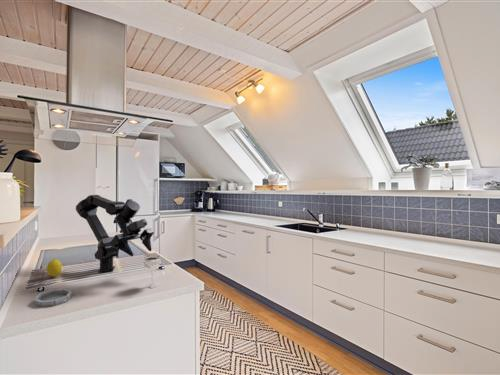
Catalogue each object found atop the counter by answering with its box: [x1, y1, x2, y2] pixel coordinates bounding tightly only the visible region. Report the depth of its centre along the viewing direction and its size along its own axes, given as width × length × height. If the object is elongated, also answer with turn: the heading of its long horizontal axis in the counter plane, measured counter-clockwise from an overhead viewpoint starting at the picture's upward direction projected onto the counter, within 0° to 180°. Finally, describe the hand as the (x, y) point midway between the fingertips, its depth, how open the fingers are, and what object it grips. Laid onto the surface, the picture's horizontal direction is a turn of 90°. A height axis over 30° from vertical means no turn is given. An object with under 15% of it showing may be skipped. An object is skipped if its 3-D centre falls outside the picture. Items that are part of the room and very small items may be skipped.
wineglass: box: [143, 254, 162, 289], centre depth 119 cm, size 7×7×12 cm
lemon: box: [46, 258, 63, 278], centre depth 125 cm, size 6×6×8 cm
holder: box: [33, 288, 73, 308], centre depth 104 cm, size 11×11×2 cm
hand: (142, 253), depth 122 cm, fingers open, 9 cm apart
